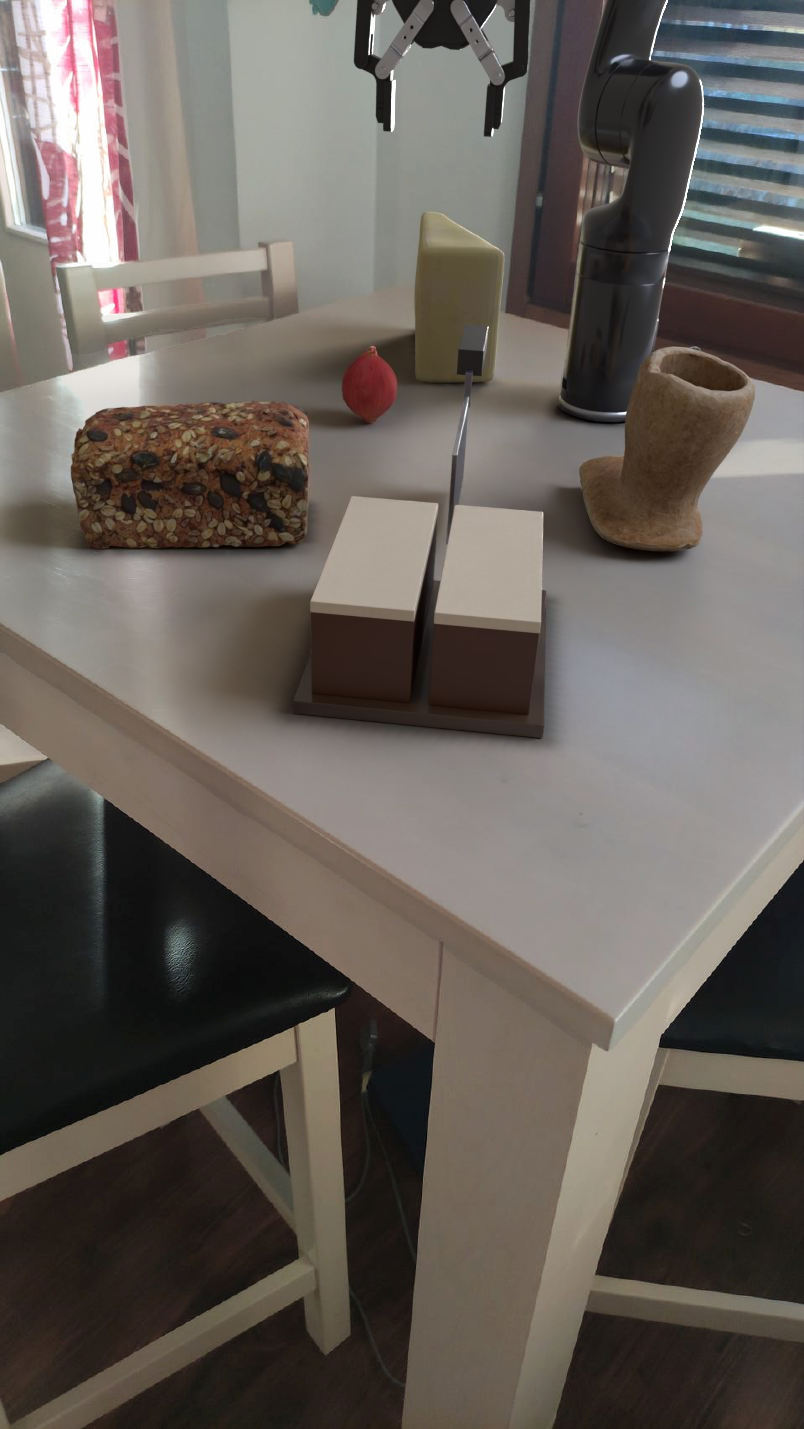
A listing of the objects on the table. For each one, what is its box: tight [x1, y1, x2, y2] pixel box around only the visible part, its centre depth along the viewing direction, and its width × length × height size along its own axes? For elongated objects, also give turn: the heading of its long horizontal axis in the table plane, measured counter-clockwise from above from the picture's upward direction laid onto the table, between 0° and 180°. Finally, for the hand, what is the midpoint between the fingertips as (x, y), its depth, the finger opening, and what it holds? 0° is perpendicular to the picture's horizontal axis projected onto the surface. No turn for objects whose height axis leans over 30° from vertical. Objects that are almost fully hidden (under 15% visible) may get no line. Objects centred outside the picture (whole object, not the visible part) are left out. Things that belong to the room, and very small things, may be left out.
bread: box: [70, 400, 311, 550], centre depth 87 cm, size 19×11×10 cm, turn 94°
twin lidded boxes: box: [292, 495, 547, 739], centre depth 72 cm, size 18×16×8 cm
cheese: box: [413, 211, 505, 383], centre depth 128 cm, size 22×10×15 cm, turn 8°
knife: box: [445, 325, 488, 545], centre depth 91 cm, size 23×2×11 cm, turn 173°
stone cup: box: [578, 346, 756, 552], centre depth 89 cm, size 15×12×15 cm
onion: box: [341, 345, 399, 424], centre depth 109 cm, size 6×6×8 cm
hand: (437, 133), depth 90 cm, fingers open, 8 cm apart
